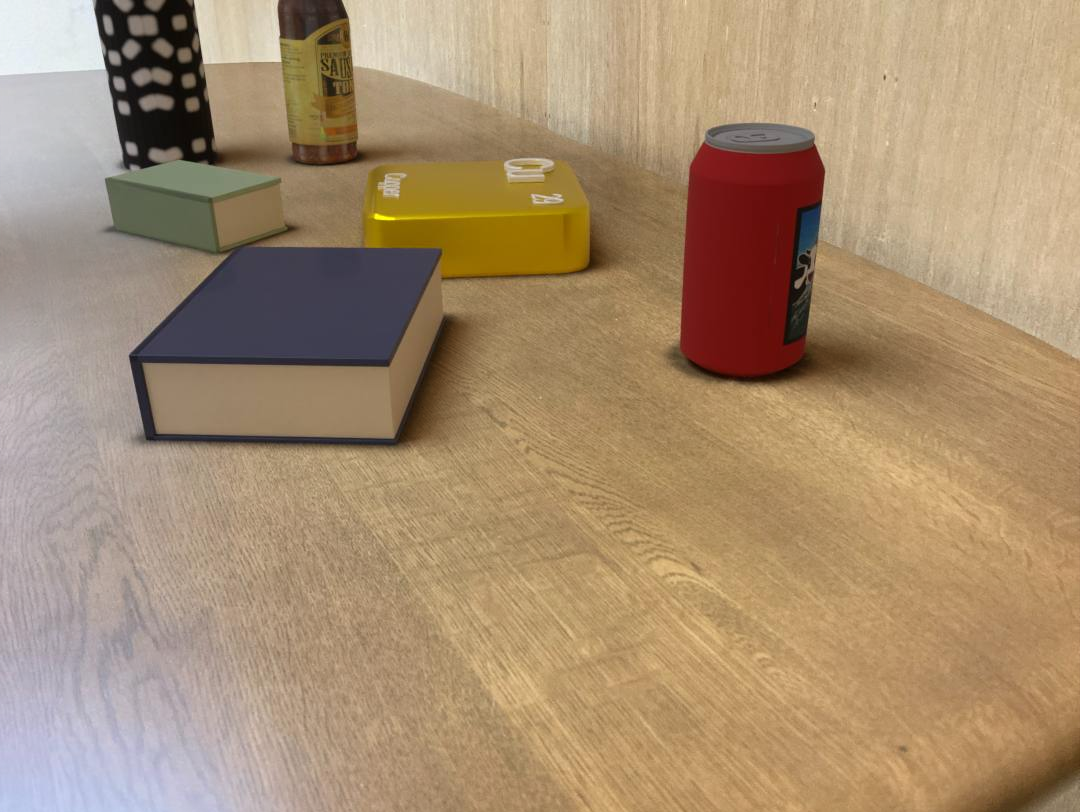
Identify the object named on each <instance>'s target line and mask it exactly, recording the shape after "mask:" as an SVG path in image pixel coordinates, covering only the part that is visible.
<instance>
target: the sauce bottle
mask: <svg viewBox="0 0 1080 812" xmlns="http://www.w3.org/2000/svg"><path fill="white" fill-rule="evenodd" d="M276 7H277V11H276V12H277V19H278V29H279V36H278V40H279V50H280V62H281V72H282V83H283V91H284V100H285V101H284V102H285V110H286V112H285V113H286V120H287V121H286V122H287V130H288V139H289V140H288V141H289V142H291V151H292V152H291V153H292V157H293V159H294V161H295V162H296V163H300V164H302V165H303V164H304V165H316V166H317V165H318V166H324V165H334V164H341V163H347V162H350V161H353V160H354V159H355V158H356V157H357V154H358V140H359V130H358V118H357V115H358V114H357V105H356V92H355V91H356V89H355V78H354V63H353V52H352V38H351V23H350V17H349V15H348V13H347V10H346V9H347V8H346V7H345V5H344V2H343V0H278V1H277V6H276Z"/></svg>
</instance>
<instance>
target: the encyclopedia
mask: <svg viewBox="0 0 1080 812" xmlns="http://www.w3.org/2000/svg"><path fill="white" fill-rule="evenodd" d="M441 256H442V249H441V248H365V247H348V246H347V247H346V246H345V247H341V246H338V247H333V246H332V247H331V246H328V247H327V246H312V247H311V246H244V245H240V246H237V247H235V248H234V249H233V250H232V251H231V252H230V254H229V255H227V256H226V257H225V258H224V260H222V261H221V262H220V263H219V265H217V267H215V268H214V269H213V270H212V271H211V272H210V273H209V274H208V275H207V276H206V277H205V278H204V279H203V280H202V281H201V282H200V283H199V284H198V285H197V286H196V287H195V288H194V289H193V290H192V291H191V292H190V293H189V294H188V295H187V296H186V297H185V298H184V299H183V300H182V301H181V302H180V303H179V304H178V305H177V306H176V307H175V308H174V309H173V310H171V312H170V313H169V314H168V315H167V316H166V317H165V318H164V319H163V320H162V321H161V322H160V323H159V324H158V325H157V326H156V327H155V328H154V329H153V330H152V331H151V332H150V333H148V335H147V336H146V337H145V338H144V339H143V340H142V341H141V342H140V343H139V344H138V345H137V346H136V347H135V348H134V349H133V350H132V351H131V352H130V353H129V354H128V360H129V364H130V369H131V374H132V379H133V383H134V388H135V393H136V398H137V402H138V403H137V404H138V407H139V412H140V417H141V422H142V427H143V428H142V429H143V431H144V436H145V441H163V442H164V441H165V442H166V441H167V442H168V441H169V442H213V443H215V442H216V443H258V444H259V443H261V444H262V443H267V444H269V443H270V444H305V445H306V444H309V445H356V446H357V445H359V446H361V445H362V446H364V445H365V446H397V444H398V441H399V440H400V437H401V434H402V432H403V430H404V426H405V424H406V421H407V419H408V416H409V414H410V411H411V409H412V406H413V403H414V402H415V398H416V396H417V393H418V391H419V389H420V386H421V383H422V381H423V379H424V376H425V373H426V371H427V368H428V366H429V363H430V362H431V358H432V356H433V353H434V351H435V349H436V346H437V343H438V340H439V338H440V335H441V333H442V330H443V328H444V327H445V326H444V325H445V323H446V321H447V319H446V316H444V303H443V285H442V278H441V266H440V258H441Z"/></svg>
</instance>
